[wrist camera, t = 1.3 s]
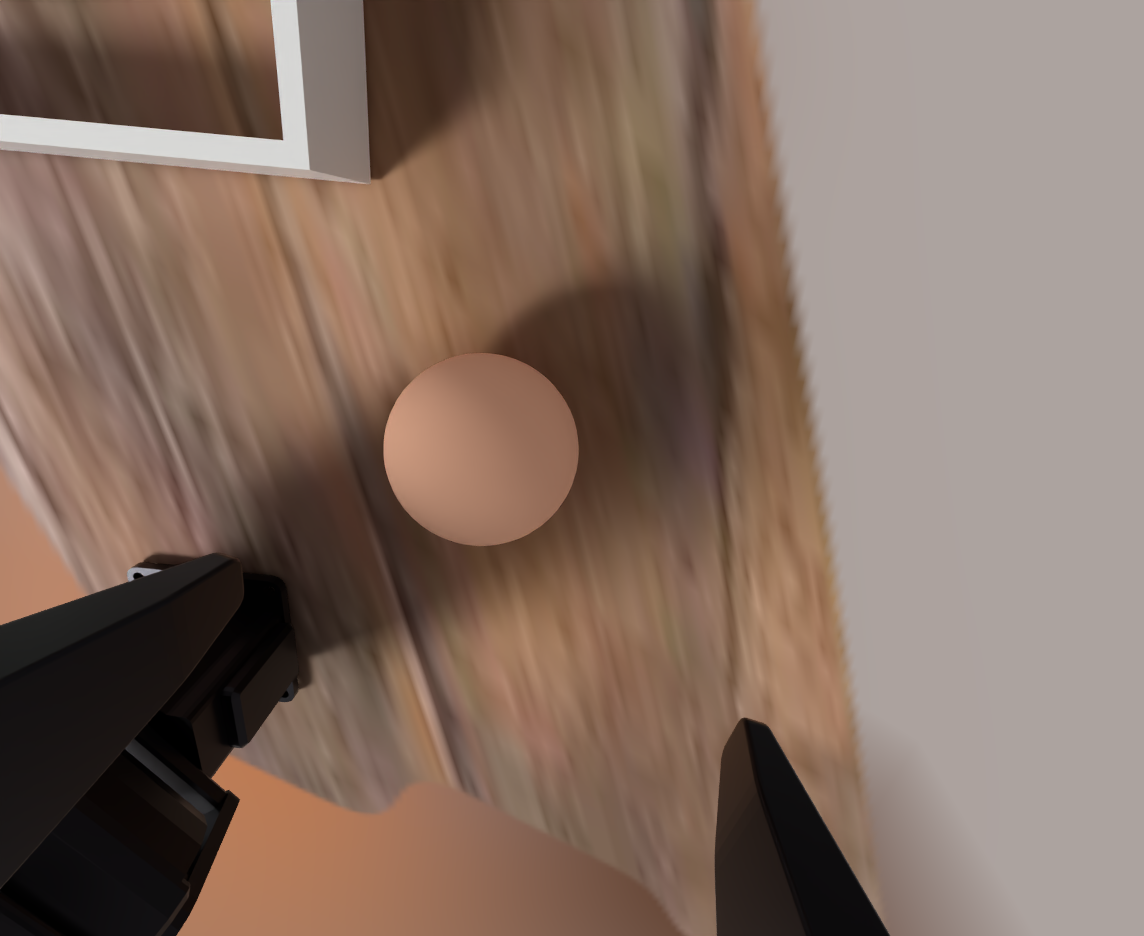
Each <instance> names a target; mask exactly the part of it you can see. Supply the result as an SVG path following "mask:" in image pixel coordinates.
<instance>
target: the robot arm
mask: <svg viewBox="0 0 1144 936" xmlns="http://www.w3.org/2000/svg"><path fill="white" fill-rule="evenodd" d="M143 575H144V576H143ZM127 577H128V581H129V582H126V583H124V584H121V585H118V586H115V587H112V588H109V589H106V590H103V591H100V592H97V593H94V594H91V595H88V596H85V597H82V598H79V599H77V600H74V601H71V602H68V603H65V604H62V605H59V606H56V607H53V608H50V609H47V610H44V611H41V612H38V613H35V614H32V615H29V616H27V617H24V618H21V619H18V620H15V621H12V622H9V623H6V624H3V625H0V936H176V935H177V934H178V932H179V931H180V929H181V928H182V926H183V924H184V923H185V921H186V920H187V918H188V916H189V915H190V913H191V911H192V909H193V907H194V905H195V903H196V901H197V899H198V896H199V894H200V892H201V889H202V887H203V885H204V883H205V880H206V878H207V875H208V873H209V871H210V869H211V866H212V864H213V862H214V859H215V857H216V855H217V852H218V850H219V848H220V845H221V843H222V841H223V838H224V836H225V834H226V831H227V829H228V827H229V824H230V822H231V820H232V817H233V815H234V812H235V810H236V808H237V806H238V803H239V800H240V799H239V798H238V797H237V796H235V795H234V794H233V793H232V792H231V791H229V790H227V791H225V790H224V789H222V788H221V787H220V786H219V785H218V784H217V783H216V782H214V781H213V780H212V779H211V778H212V777H213V776H214V774H215V773H216V771H217V770H218V769H219V767H220V766H221V765H222V763H223V762H224V760H225V759H226V758H227V756H228V755H229V754H230V752H231V751H232V749H233V748H234V747H236V748H243V747H244V746H246V745H247V744H248V743H249V742H250V741H251V740H252V738H253V737H254V735H255V734H256V732H257V731H258V730H259V728H260V727H261V725H262V724H263V722H264V721H265V720H266V718H267V717H268V715H269V714H270V713H271V711H272V710H273V708H274V707H275V705H276V704H277V703H278V701H279V702H289V701H292V700H293V698H294V697H295V695H296V694H297V692H298V689H299V687H298V679H297V674H298V672H299V668H298V660H297V651H296V643H295V635H294V629H293V627H292V625H291V622H290V614H289V606H288V598H287V590H286V585H285V583H284V582H283V581H282V580H281V579H280V578H278V577H275V576H269V575H259V574H250V573H242V564H241V562H240V560H239V559H237V558H235V557H232V556H229V555H225V554H222V553H212V554H209V555H206V556H203V557H200V558H197V559H194V560H191V561H188V562H185V563H182V564H179V565H176V566H174V565H164V564H155V563H145V562H142V563H138V564H136V565H135V566H133V567H132V568H131V569H129V570H128V572H127ZM269 587H272V588H273V589H274V590H275V591H273V590H271V589H270V588H269ZM715 893H716V922H717V936H890V935H889V933H888V931H887V929H886V928H885V926H884V924H883V923H882V921H881V919H880V917H879V916H878V914H877V912H876V910H875V909H874V907H873V905H872V904H871V902H870V900H869V898H868V897H867V895H866V893H865V892H864V890H863V888H862V886H861V885H860V883H859V881H858V879H857V878H856V876H855V874H854V873H853V871H852V869H851V867H850V866H849V864H848V862H847V861H846V859H845V857H844V855H843V854H842V852H841V850H840V848H839V847H838V845H837V843H836V842H835V840H834V838H833V836H832V835H831V833H830V831H829V830H828V828H827V826H826V824H825V823H824V821H823V819H822V817H821V816H820V814H819V812H818V811H817V809H816V807H815V805H814V804H813V802H812V800H811V799H810V797H809V795H808V793H807V792H806V790H805V788H804V787H803V785H802V783H801V781H800V780H799V778H798V776H797V774H796V773H795V771H794V769H793V768H792V766H791V764H790V762H789V761H788V759H787V757H786V756H785V754H784V752H783V750H782V749H781V747H780V745H779V743H778V742H777V740H776V738H775V737H774V735H773V733H772V731H771V730H770V728H769V727H768V726H767V725H766V724H764V723H762V722H758V721H755V720H752V719H749V718H742V719H741V720H740V721H739V722H738V724H737V725H736V727H735V729H734V731H733V732H732V734H731V736H730V738H729V739H728V741H727V743H726V745H725V747H724V750H723V753H722V758H721V770H720V784H719V798H718V812H717V826H716V840H715Z"/></svg>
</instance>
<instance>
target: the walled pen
mask: <svg viewBox="0 0 1144 936" xmlns="http://www.w3.org/2000/svg"><path fill="white" fill-rule="evenodd" d="M271 10H272V21H273V32H274V43H275V53H276V64H277V75H278V86H279V97H280V108H281V118H282V129H283V140H273V139H262V138H252V137H241V136H230V135H219V134H209V133H198V132H187V131H176V130H166V129H155V128H144V127H134V126H123V125H112V124H101V123H91V122H80V121H69V120H58V119H48V118H37V117H26V116H15V115H5V114H0V149H1V150H11V151H22V152H32V153H43V154H54V155H64V156H75V157H85V158H96V159H107V160H117V161H128V162H139V163H149V164H160V165H170V166H181V167H192V168H202V169H213V170H223V171H234V172H245V173H255V174H266V175H277V176H287V177H298V178H308V179H319V180H330V181H340V182H351V183H362V184H371V177H370V153H369V129H368V106H367V82H366V58H365V35H364V11H363V0H271Z"/></svg>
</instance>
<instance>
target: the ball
mask: <svg viewBox="0 0 1144 936" xmlns="http://www.w3.org/2000/svg"><path fill="white" fill-rule="evenodd" d="M383 454H384V463H385V469H386V473H387V476H388V479H389V482H390V484H391V487H392V490H393V492H394V494H395V495H396V497H397V499H398V501H399V502H400V503H401V505H402V506H403V508H404V509H405V510H406V511H407V512H408V514H409V515H410V516H411V517H412V518H413V519H414V520H416V521H417V522H418V523H419V524H420V525H421V526H423V527H424V528H426V529H427V530H429V531H430V532H432V533H434V534H436V535H438V536H439V537H442V538H444V539H447V540H449V541H453V542H456V543H460V544H465V545H471V546H490V545H498V544H503V543H507V542H510V541H513V540H517V539H519V538H521V537H524V536H526V535H528V534H529V533H531V532H533V531H534V530H536V529H537V528H539V527H540V526H542V525H543V524H544V523H545V522H546V521H547V520H549V519H550V518H551V517H552V516H553V514H554V513H555V512H556V511H557V510H558V509H559V507H560V506H561V504H562V503H563V501H564V500H565V498H566V497H567V495H568V493H569V491H570V489H571V487H572V484H573V481H574V477H575V474H576V471H577V465H578V457H579V444H578V435H577V429H576V425H575V421H574V419H573V416H572V414H571V411H570V409H569V407H568V405H567V403H566V402H565V400H564V398H563V397H562V395H561V394H560V393H559V391H558V390H557V389H556V387H555V386H554V385H553V384H552V383H551V382H550V381H549V380H548V379H547V378H546V377H545V376H543V375H542V374H541V373H540V372H538V371H537V370H536V369H534V368H532V367H531V366H529V365H527V364H525V363H523V362H521V361H519V360H516V359H513V358H510V357H507V356H504V355H498V354H491V353H471V354H462V355H458V356H454V357H451V358H448V359H446V360H443V361H440V362H438V363H436V364H434V365H433V366H431V367H429V368H427V369H426V370H424V371H423V372H422V373H420V374H419V375H418V376H417V377H415V379H414V380H413V381H412V382H411V383H410V384H409V385H408V386H407V387H406V388H405V389H404V390H403V392H402V393H401V395H400V396H399V397H398V399H397V401H396V403H395V405H394V407H393V409H392V411H391V413H390V415H389V419H388V422H387V425H386V429H385V435H384V452H383Z"/></svg>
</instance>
